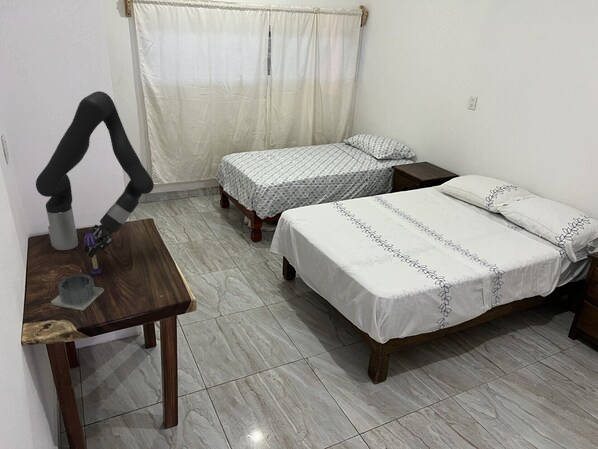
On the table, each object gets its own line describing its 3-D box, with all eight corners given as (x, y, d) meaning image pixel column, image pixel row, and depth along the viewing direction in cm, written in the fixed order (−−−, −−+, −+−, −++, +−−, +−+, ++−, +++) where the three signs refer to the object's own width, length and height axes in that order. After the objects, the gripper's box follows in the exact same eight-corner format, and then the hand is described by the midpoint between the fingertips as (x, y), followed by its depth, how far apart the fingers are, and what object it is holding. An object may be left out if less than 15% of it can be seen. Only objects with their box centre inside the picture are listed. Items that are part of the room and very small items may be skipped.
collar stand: (51, 304, 148) (48, 289, 146) (74, 285, 159) (71, 271, 156) (83, 310, 146) (80, 295, 144) (104, 290, 157) (101, 276, 154)
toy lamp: (88, 276, 165) (81, 238, 157) (90, 269, 169) (83, 232, 161) (101, 275, 166) (95, 237, 159) (103, 268, 170) (97, 231, 163)
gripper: (101, 206, 166) (72, 242, 164) (114, 219, 157) (84, 257, 155) (116, 215, 172) (89, 250, 170) (130, 229, 162) (101, 265, 160)
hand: (87, 253), depth 162 cm, fingers closed on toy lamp, 4 cm apart
